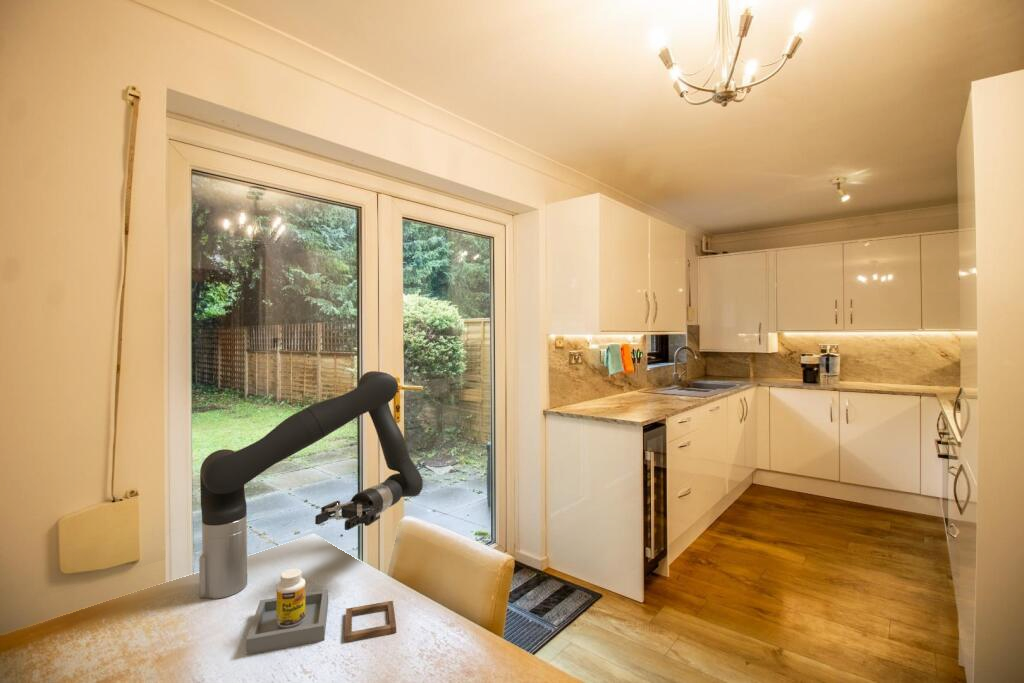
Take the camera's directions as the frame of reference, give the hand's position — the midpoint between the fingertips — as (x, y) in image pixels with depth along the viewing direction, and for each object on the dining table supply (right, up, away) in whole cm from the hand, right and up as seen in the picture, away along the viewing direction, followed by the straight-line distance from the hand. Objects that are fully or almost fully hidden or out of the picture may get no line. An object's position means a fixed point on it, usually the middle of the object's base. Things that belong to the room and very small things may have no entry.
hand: (331, 523), depth 112 cm
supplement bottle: (-4, -16, -12) cm, 21 cm away
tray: (-4, -17, -13) cm, 21 cm away
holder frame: (+13, -17, -11) cm, 24 cm away
